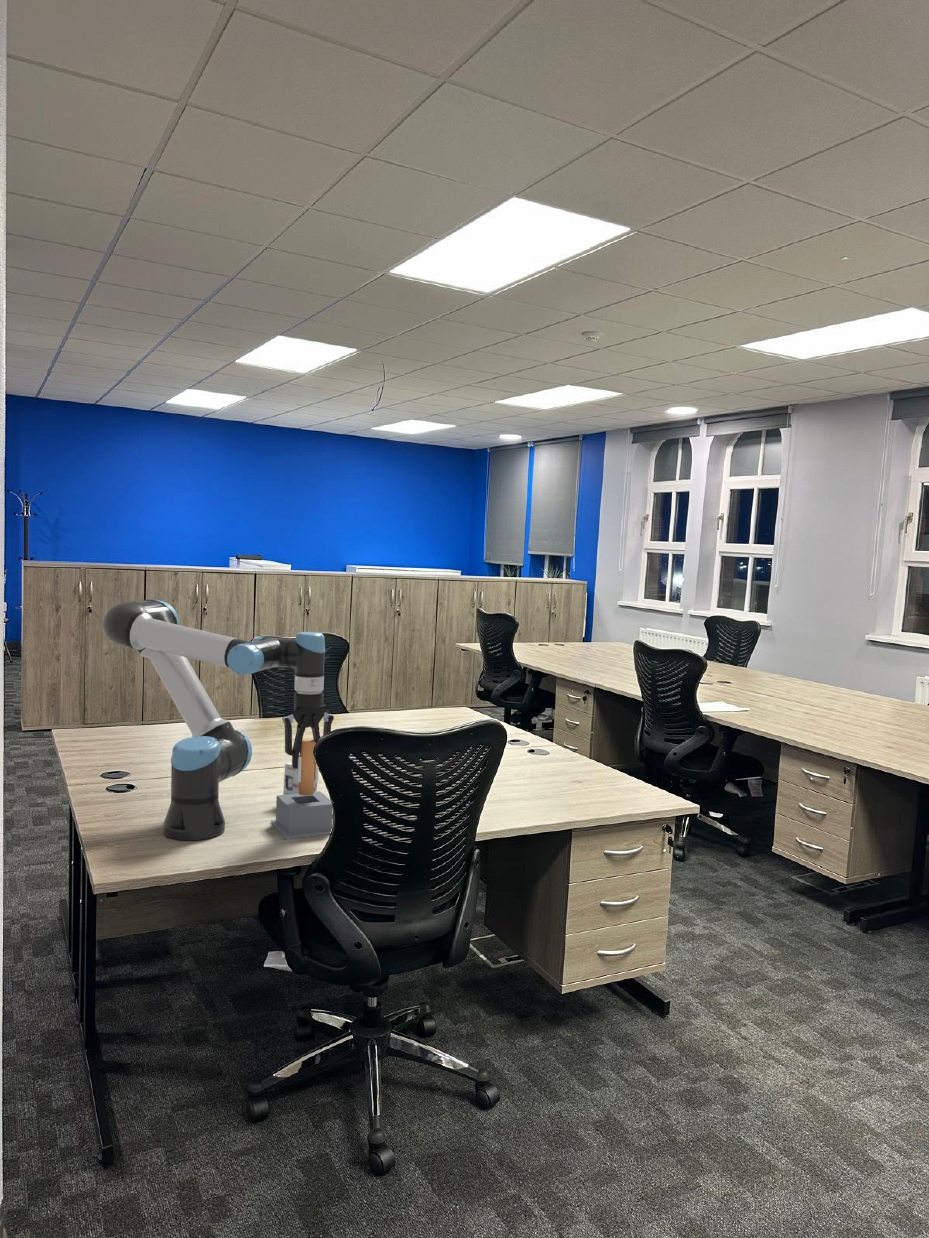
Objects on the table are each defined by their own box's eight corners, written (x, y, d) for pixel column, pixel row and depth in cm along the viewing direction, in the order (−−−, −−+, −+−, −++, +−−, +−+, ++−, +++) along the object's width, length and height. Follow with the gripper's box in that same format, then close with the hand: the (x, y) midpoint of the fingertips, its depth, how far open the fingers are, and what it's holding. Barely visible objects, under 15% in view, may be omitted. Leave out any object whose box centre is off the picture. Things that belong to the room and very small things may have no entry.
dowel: (301, 796, 228) (302, 743, 227) (296, 791, 231) (298, 739, 230) (316, 794, 230) (317, 742, 228) (311, 790, 233) (312, 738, 232)
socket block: (286, 839, 222) (287, 809, 221) (271, 822, 234) (271, 794, 234) (338, 832, 229) (339, 804, 228) (321, 816, 241) (322, 789, 240)
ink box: (281, 803, 251) (283, 763, 250) (292, 799, 255) (293, 759, 254) (307, 809, 247) (308, 768, 246) (317, 804, 252) (318, 764, 251)
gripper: (281, 695, 221) (278, 786, 223) (345, 692, 229) (342, 780, 231) (272, 690, 227) (270, 778, 229) (335, 688, 235) (332, 773, 238)
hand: (306, 779), depth 230 cm, fingers closed on dowel, 4 cm apart
